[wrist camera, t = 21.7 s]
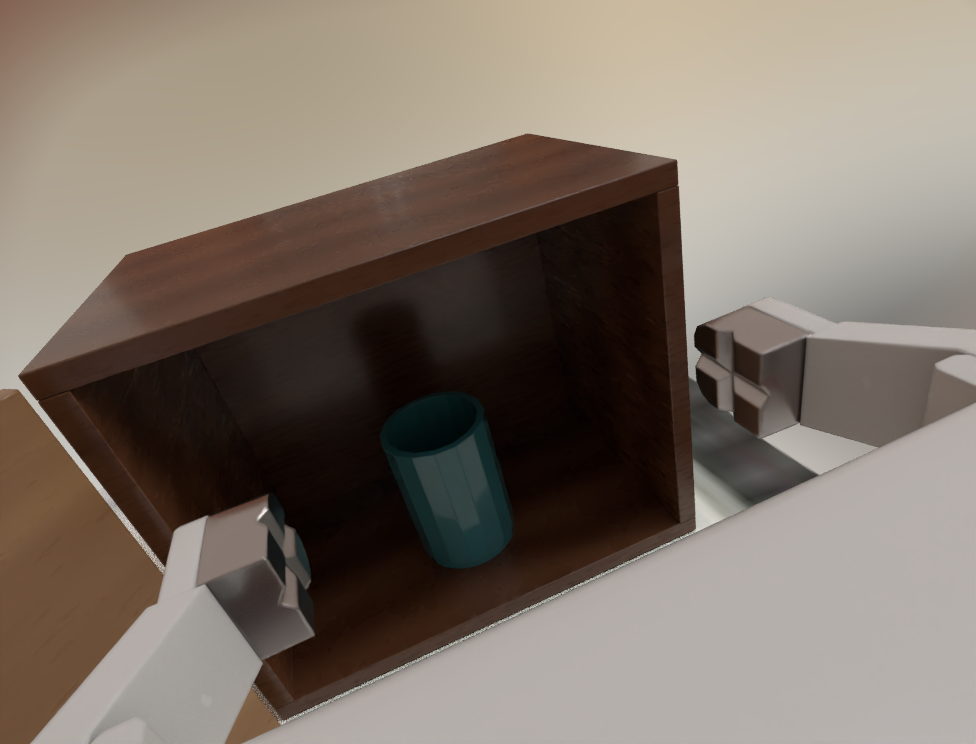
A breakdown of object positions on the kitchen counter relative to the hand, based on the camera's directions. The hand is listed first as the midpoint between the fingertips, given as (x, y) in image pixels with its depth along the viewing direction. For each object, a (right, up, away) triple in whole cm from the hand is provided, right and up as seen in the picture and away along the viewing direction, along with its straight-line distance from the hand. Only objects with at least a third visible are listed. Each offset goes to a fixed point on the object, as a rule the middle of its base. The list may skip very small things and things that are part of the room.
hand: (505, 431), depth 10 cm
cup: (-2, -10, +31) cm, 33 cm away
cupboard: (-2, -11, +33) cm, 35 cm away
